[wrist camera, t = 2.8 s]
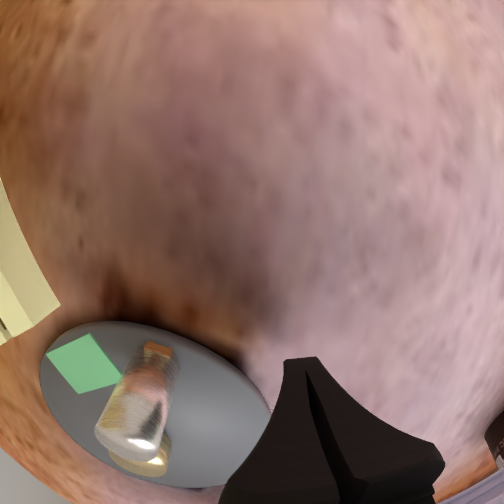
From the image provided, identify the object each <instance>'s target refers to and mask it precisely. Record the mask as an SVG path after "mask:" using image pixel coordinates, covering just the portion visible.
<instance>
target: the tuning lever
mask: <svg viewBox="0 0 504 504" xmlns="http://www.w3.org/2000/svg"><path fill="white" fill-rule="evenodd" d="M172 351H173V349H172V348H169V347H166V346H163V345H160V344H157V343H154V342H151V341H148V342H147V343H146V344H142V345H140V346H139V347H137V348H136V350H135V351H134V353H133V355H132V357H131V359H130V360H129V362H128V364H127V366H126V368H125V370H124V372H123V373H122V375H121V377H120V379H119V381H118V383H117V385H116V387H115V389H114V391H113V392H112V394H111V396H110V398H109V400H108V402H107V404H106V406H105V408H104V410H103V412H102V414H101V416H100V418H99V420H98V422H97V424H96V426H95V428H94V433H95V436H96V438H97V439H98V441H99V442H100V443H101V444H102V445H103V446H104V447H105V448H107V449H108V453H109V456H110V457H111V459H112V460H113V461H114V462H115V463H116V464H118V465H119V466H121V467H122V468H124V469H126V470H128V471H130V472H132V473H135V474H138V475H142V476H147V477H159V476H163V475H164V474H165V473H166V471H167V467H168V462H169V458H170V454H171V449H172V442H171V440H170V439H169V437H168V436H167V435H166V434H164V433H163V431H164V428H165V424H166V421H167V417H168V413H169V410H170V407H171V403H172V400H173V396H174V393H175V389H176V386H177V383H178V379H179V376H180V373H181V363H180V361H179V359H178V357H177V356H176V355H175V354H174V353H173V352H172Z"/></svg>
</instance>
